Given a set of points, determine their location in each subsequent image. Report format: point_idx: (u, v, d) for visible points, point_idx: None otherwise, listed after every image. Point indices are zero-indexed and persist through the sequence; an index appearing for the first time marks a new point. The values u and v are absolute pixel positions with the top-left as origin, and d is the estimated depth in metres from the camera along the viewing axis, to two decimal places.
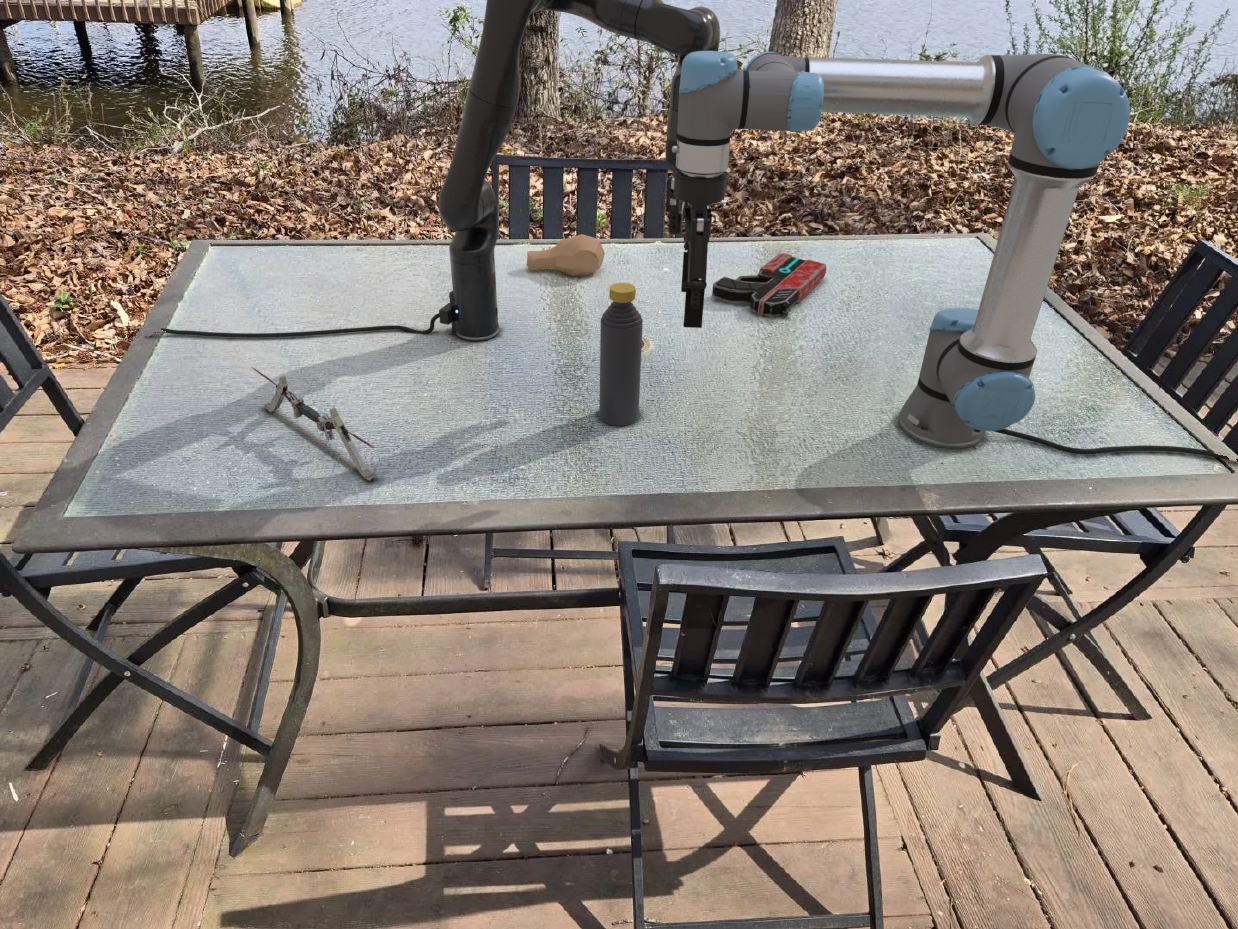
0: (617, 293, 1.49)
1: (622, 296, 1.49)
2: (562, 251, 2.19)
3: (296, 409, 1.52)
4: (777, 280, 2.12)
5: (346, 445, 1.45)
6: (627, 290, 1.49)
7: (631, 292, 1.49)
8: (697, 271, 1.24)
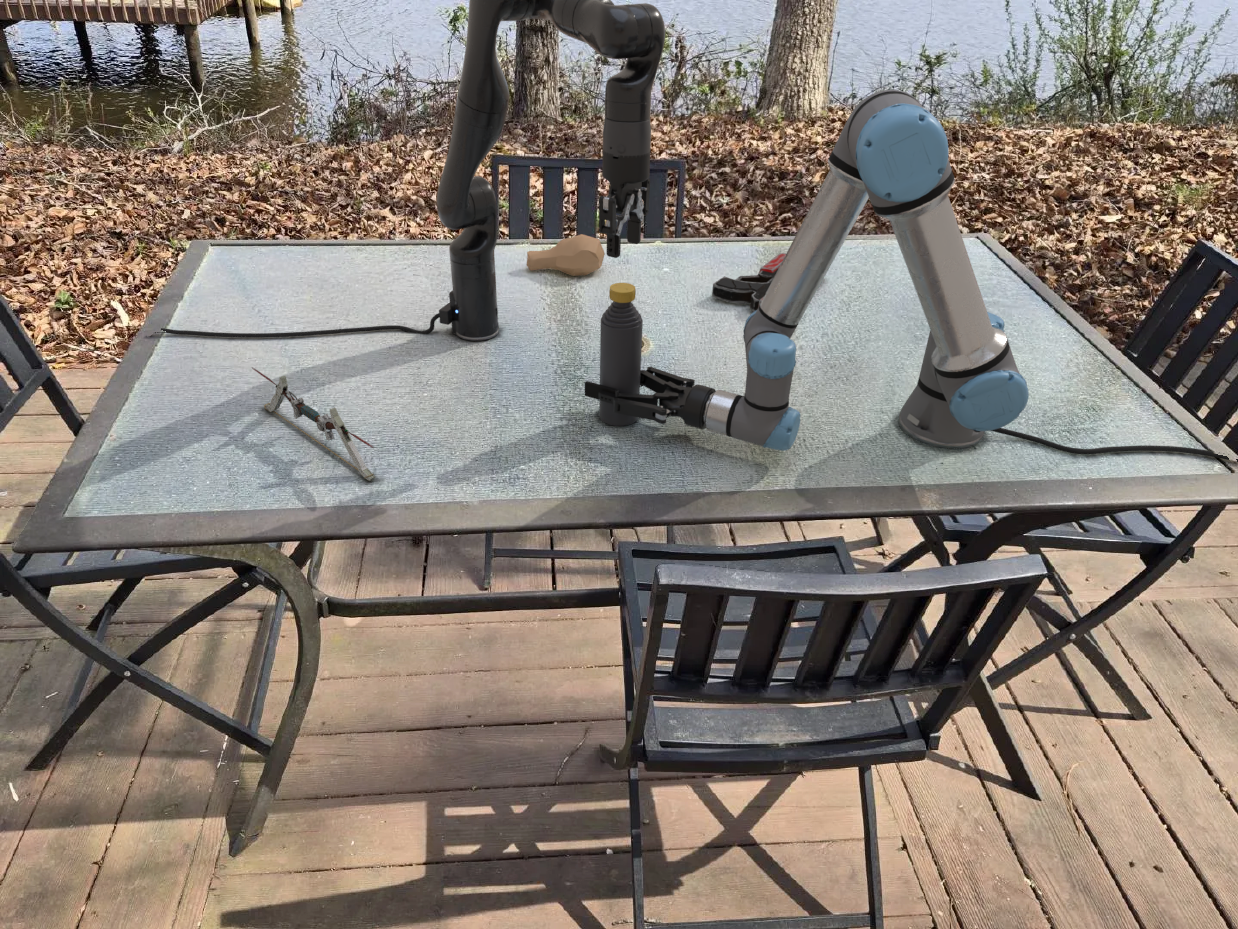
0: (617, 293, 1.49)
1: (622, 296, 1.49)
2: (562, 251, 2.19)
3: (296, 409, 1.52)
4: None
5: (346, 445, 1.45)
6: (627, 290, 1.49)
7: (631, 292, 1.49)
8: None
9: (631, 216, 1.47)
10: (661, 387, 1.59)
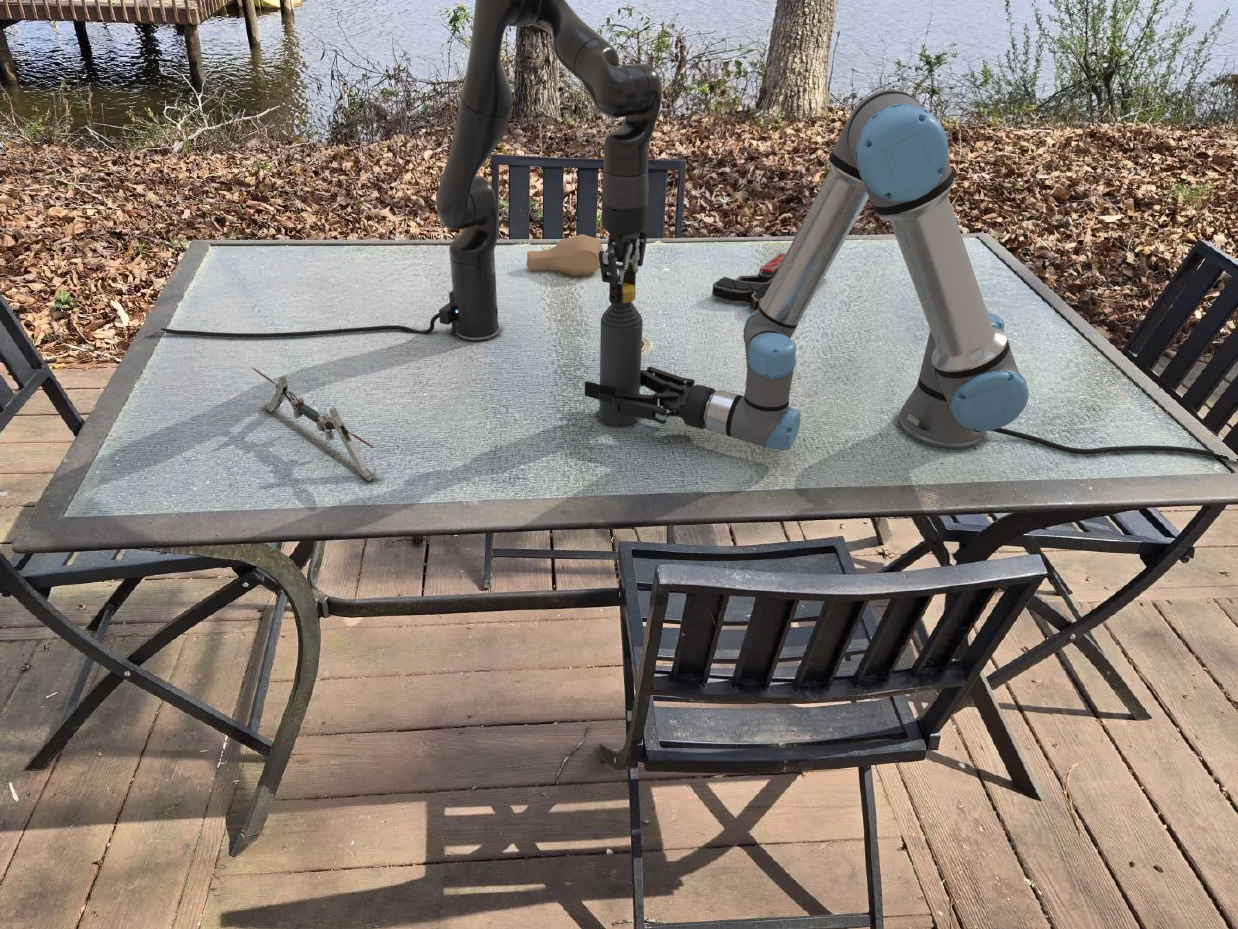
0: None
1: None
2: (562, 251, 2.19)
3: (296, 409, 1.52)
4: None
5: (346, 445, 1.45)
6: (627, 290, 1.49)
7: (631, 292, 1.49)
8: None
9: None
10: (661, 387, 1.59)
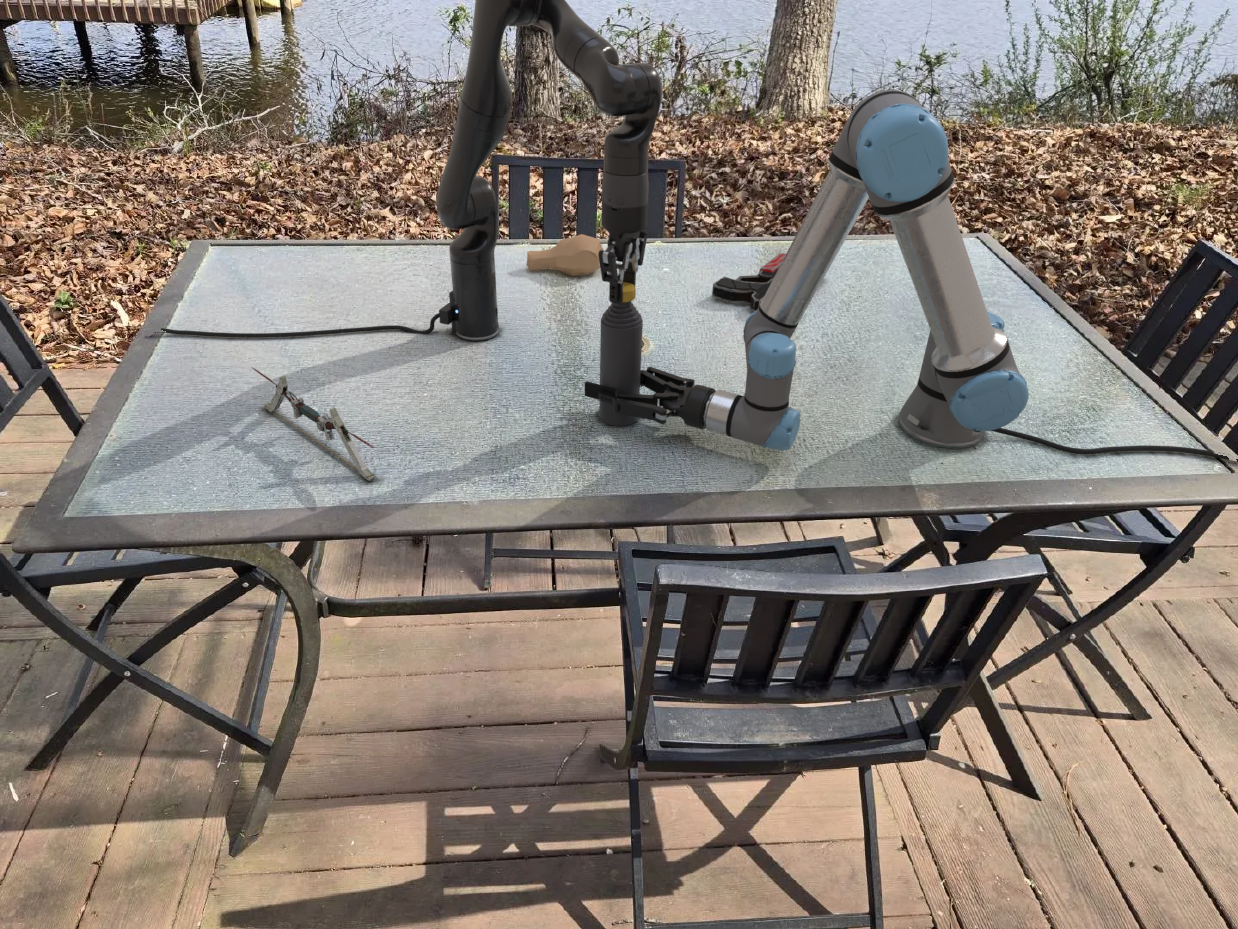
0: (635, 289, 1.50)
1: None
2: (562, 251, 2.19)
3: (296, 409, 1.52)
4: None
5: (346, 445, 1.45)
6: (628, 284, 1.51)
7: None
8: None
9: None
10: (661, 387, 1.59)
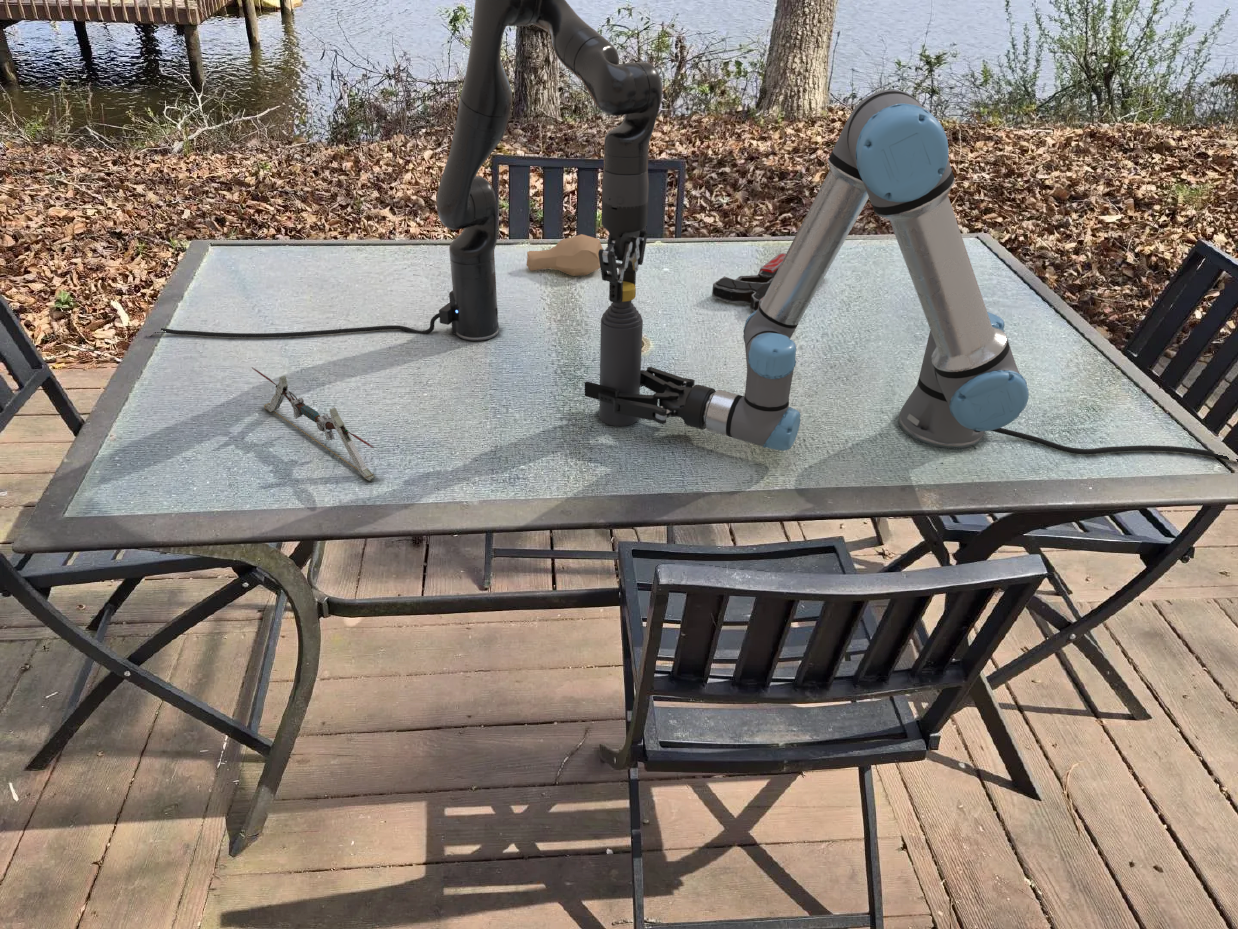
0: None
1: None
2: (562, 251, 2.19)
3: (296, 409, 1.52)
4: None
5: (346, 445, 1.45)
6: None
7: None
8: None
9: None
10: (661, 387, 1.59)
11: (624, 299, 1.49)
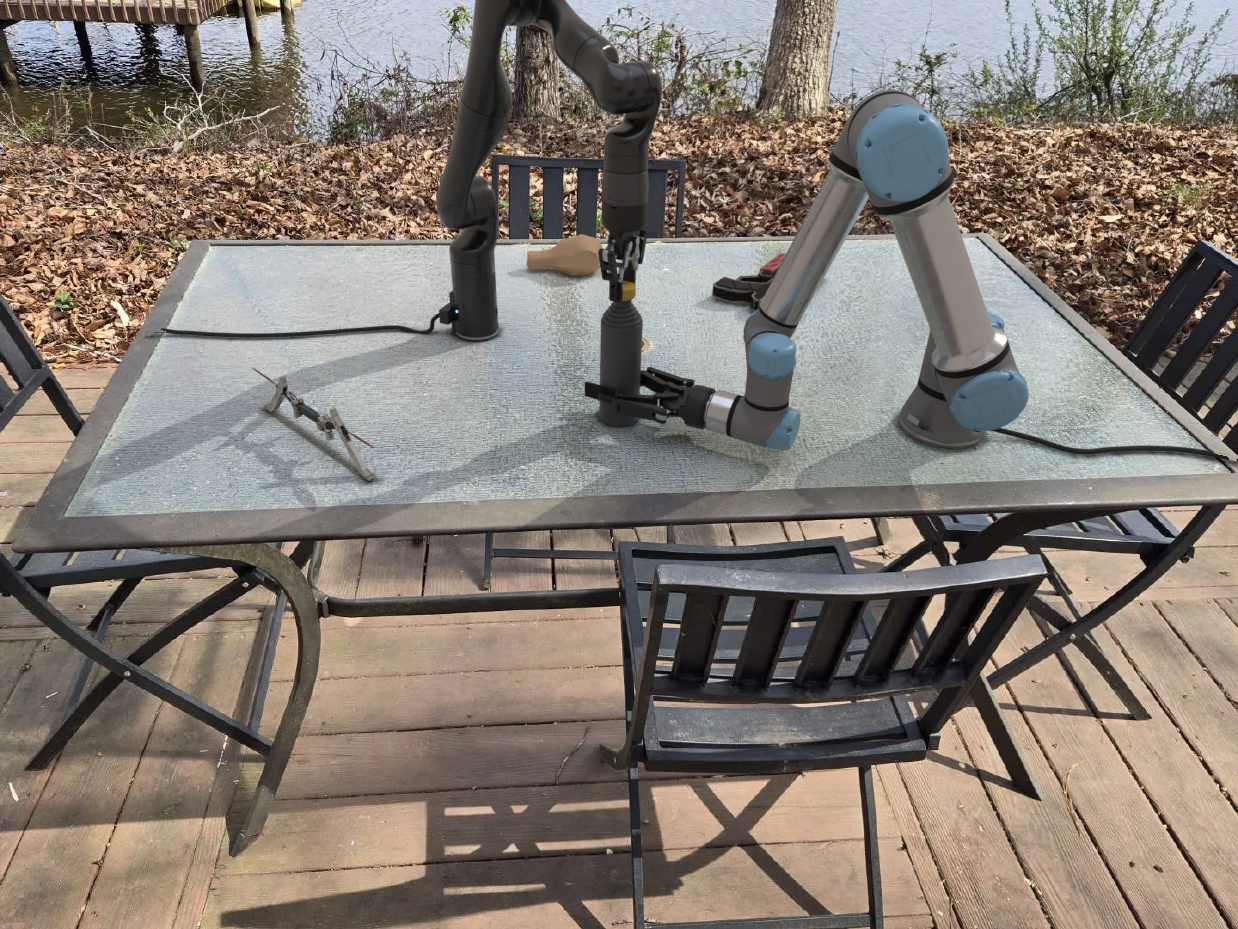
0: None
1: None
2: (562, 251, 2.19)
3: (296, 409, 1.52)
4: None
5: (346, 445, 1.45)
6: None
7: (623, 291, 1.48)
8: None
9: None
10: (661, 387, 1.59)
11: None
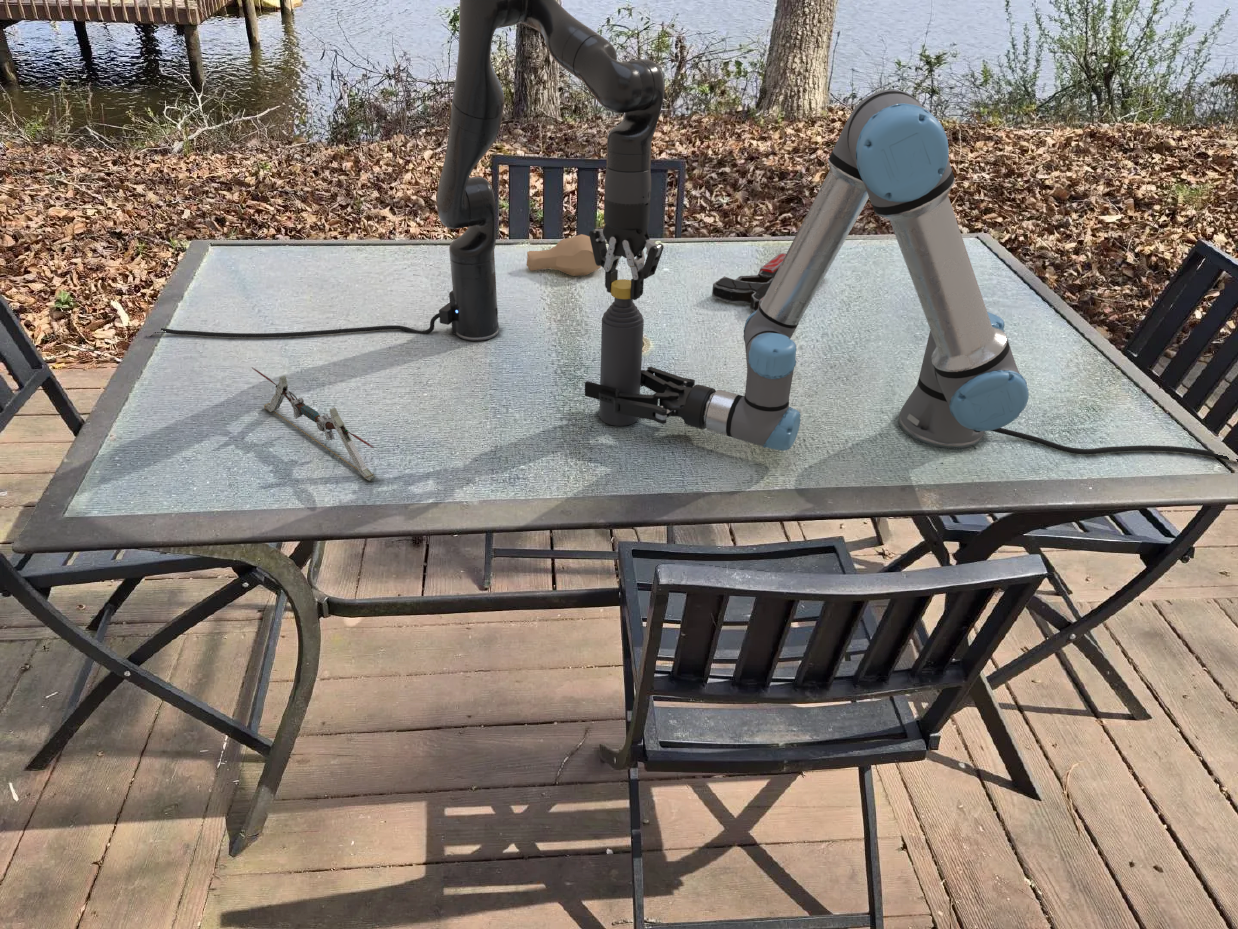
0: (628, 290, 1.49)
1: None
2: (562, 251, 2.19)
3: (296, 409, 1.52)
4: None
5: (346, 445, 1.45)
6: None
7: None
8: None
9: (611, 267, 1.49)
10: (661, 387, 1.59)
11: None
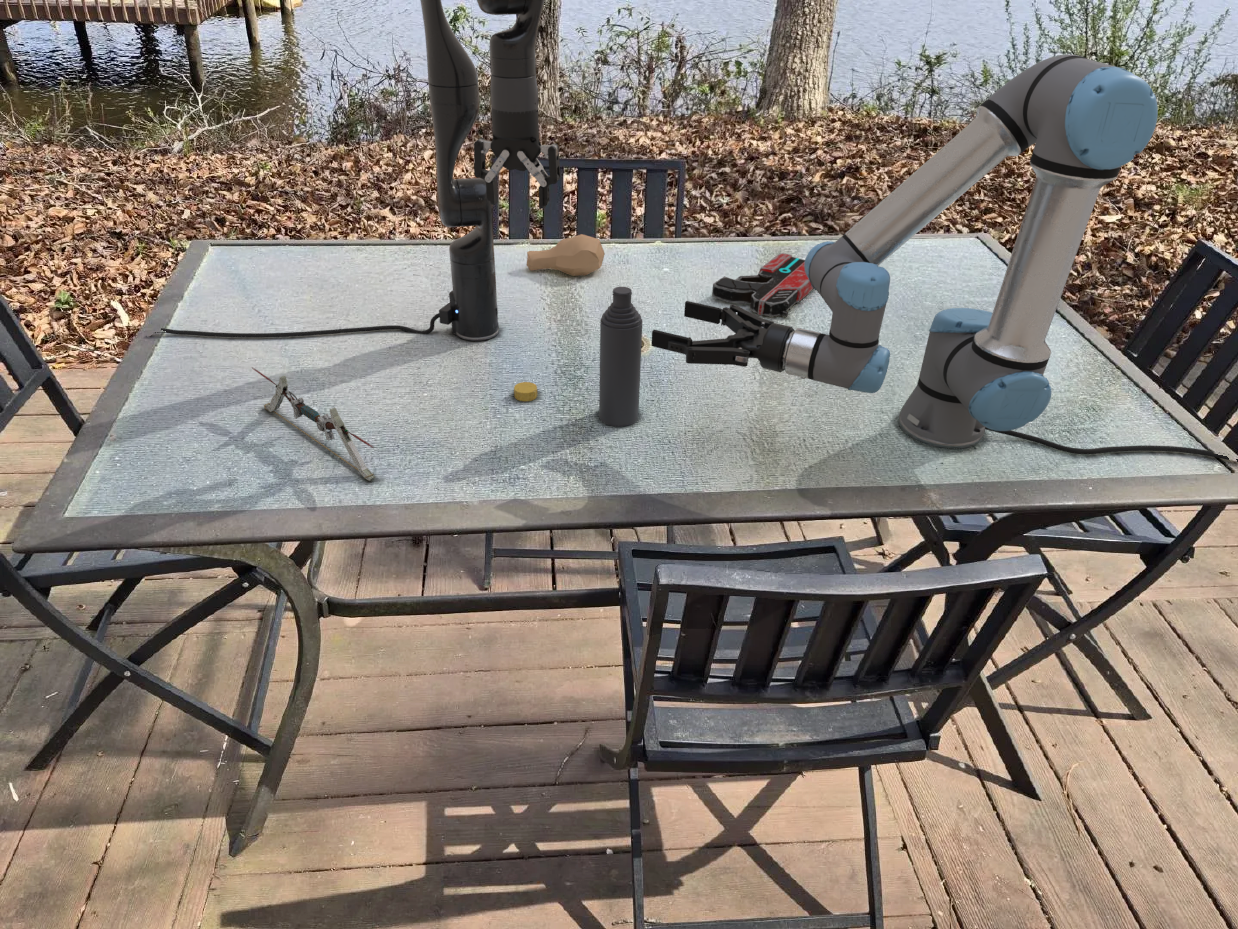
0: (532, 393, 1.68)
1: (535, 393, 1.68)
2: (562, 251, 2.19)
3: (296, 409, 1.52)
4: (777, 280, 2.12)
5: (346, 445, 1.45)
6: (533, 386, 1.69)
7: (536, 386, 1.69)
8: None
9: (492, 178, 1.47)
10: (738, 326, 1.48)
11: None
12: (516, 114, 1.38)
